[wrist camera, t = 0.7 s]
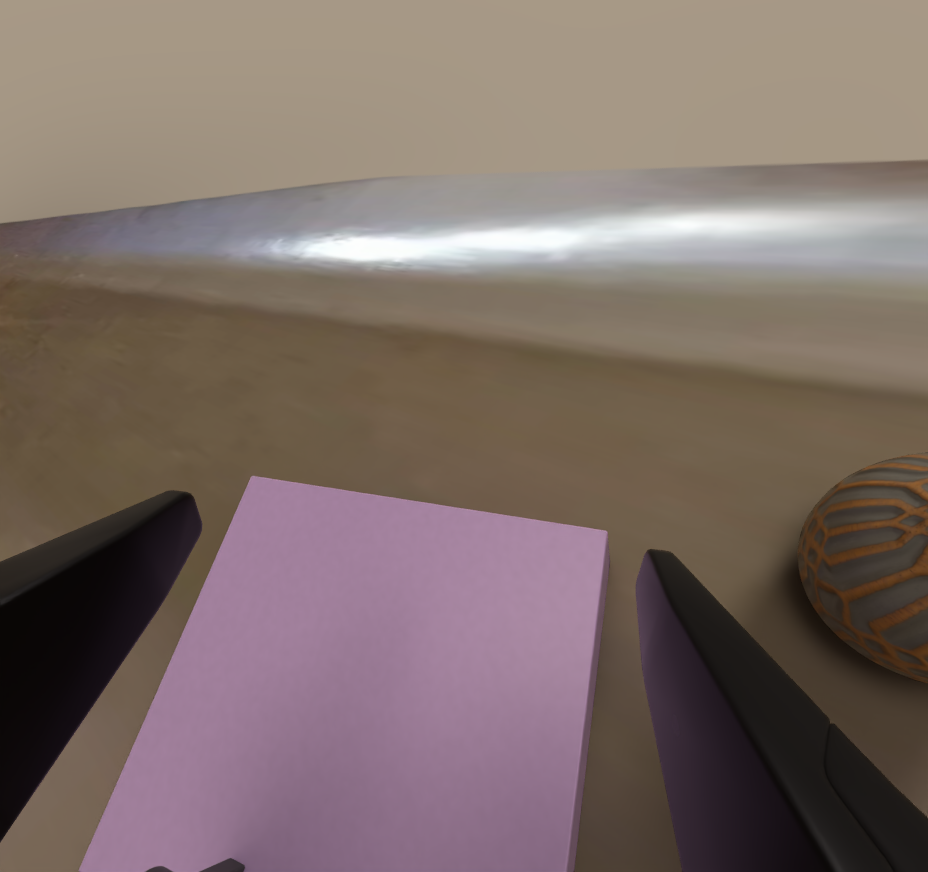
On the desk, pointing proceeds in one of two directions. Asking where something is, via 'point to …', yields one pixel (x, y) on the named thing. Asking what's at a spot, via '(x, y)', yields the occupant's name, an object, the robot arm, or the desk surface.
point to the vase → (873, 563)
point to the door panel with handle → (367, 695)
